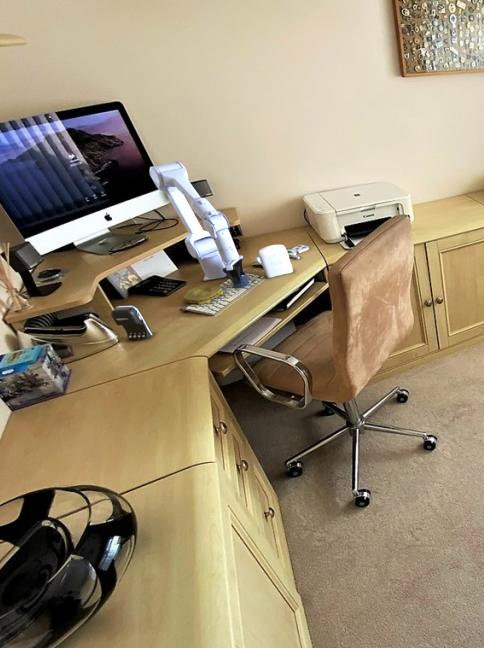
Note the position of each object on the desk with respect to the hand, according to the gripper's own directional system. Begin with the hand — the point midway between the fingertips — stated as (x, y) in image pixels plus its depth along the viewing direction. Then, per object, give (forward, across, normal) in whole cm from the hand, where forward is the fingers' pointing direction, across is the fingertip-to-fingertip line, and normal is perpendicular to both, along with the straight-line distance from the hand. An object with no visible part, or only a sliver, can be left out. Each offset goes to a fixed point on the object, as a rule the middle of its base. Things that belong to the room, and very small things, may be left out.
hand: (239, 279), depth 166 cm
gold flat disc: (+3, -5, +12) cm, 13 cm away
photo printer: (+3, +4, -14) cm, 15 cm away
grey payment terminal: (+3, -28, +27) cm, 39 cm away
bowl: (+2, 0, 0) cm, 2 cm away
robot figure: (+2, +23, -15) cm, 28 cm away
